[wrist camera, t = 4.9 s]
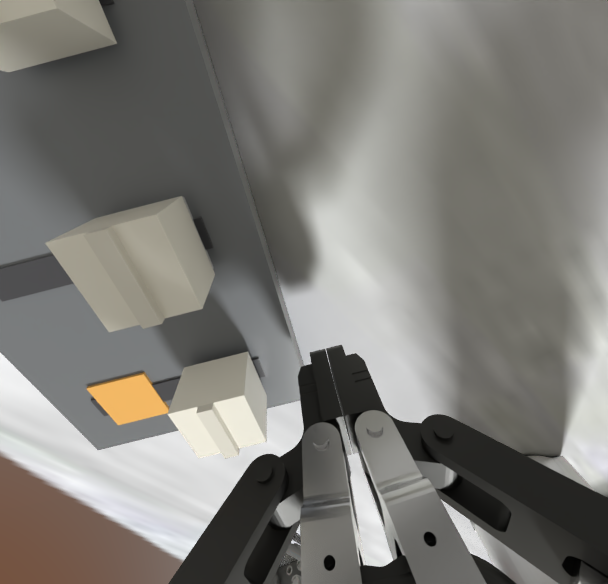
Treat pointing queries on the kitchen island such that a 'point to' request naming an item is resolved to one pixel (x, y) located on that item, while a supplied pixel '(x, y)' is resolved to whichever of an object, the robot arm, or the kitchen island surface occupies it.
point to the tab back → (220, 406)
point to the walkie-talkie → (290, 568)
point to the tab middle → (137, 264)
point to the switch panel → (123, 196)
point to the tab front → (50, 31)
